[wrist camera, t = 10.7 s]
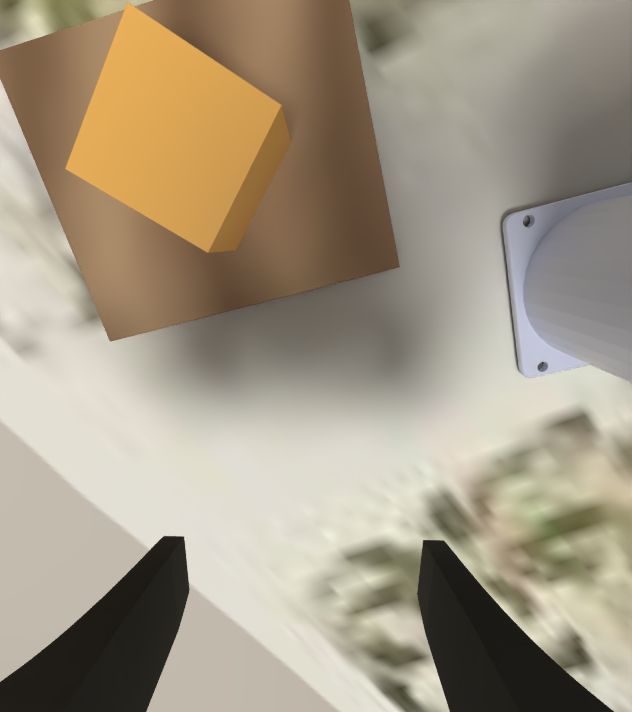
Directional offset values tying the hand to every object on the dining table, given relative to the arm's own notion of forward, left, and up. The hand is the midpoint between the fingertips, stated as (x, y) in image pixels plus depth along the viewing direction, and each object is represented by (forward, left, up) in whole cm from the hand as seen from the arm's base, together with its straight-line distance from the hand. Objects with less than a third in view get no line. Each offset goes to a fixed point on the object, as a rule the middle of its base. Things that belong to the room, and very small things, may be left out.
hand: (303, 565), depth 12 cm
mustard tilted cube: (+1, -13, -8) cm, 16 cm away
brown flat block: (+1, -13, -9) cm, 16 cm away
